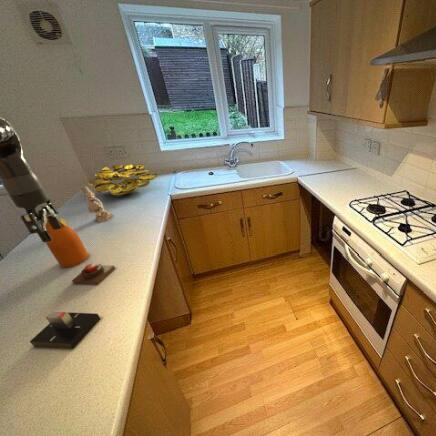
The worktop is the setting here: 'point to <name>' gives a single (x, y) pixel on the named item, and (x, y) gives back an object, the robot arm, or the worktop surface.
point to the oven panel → (66, 332)
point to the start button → (90, 268)
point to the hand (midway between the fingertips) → (53, 234)
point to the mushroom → (118, 188)
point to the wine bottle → (66, 245)
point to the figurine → (96, 206)
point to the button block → (94, 275)
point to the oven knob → (60, 320)
